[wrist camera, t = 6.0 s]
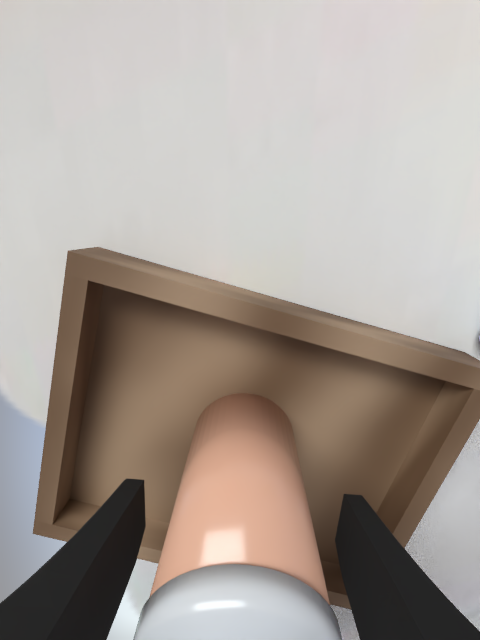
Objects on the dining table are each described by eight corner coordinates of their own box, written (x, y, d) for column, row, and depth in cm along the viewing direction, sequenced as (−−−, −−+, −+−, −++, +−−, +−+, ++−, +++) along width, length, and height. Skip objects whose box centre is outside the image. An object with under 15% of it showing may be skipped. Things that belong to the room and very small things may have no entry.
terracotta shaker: (295, 389, 13) (356, 608, 6) (295, 477, 15) (347, 754, 7) (187, 393, 14) (106, 610, 6) (197, 480, 15) (141, 751, 7)
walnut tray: (465, 352, 13) (504, 375, 11) (351, 565, 17) (366, 612, 15) (98, 247, 13) (67, 250, 11) (60, 494, 16) (32, 533, 14)
